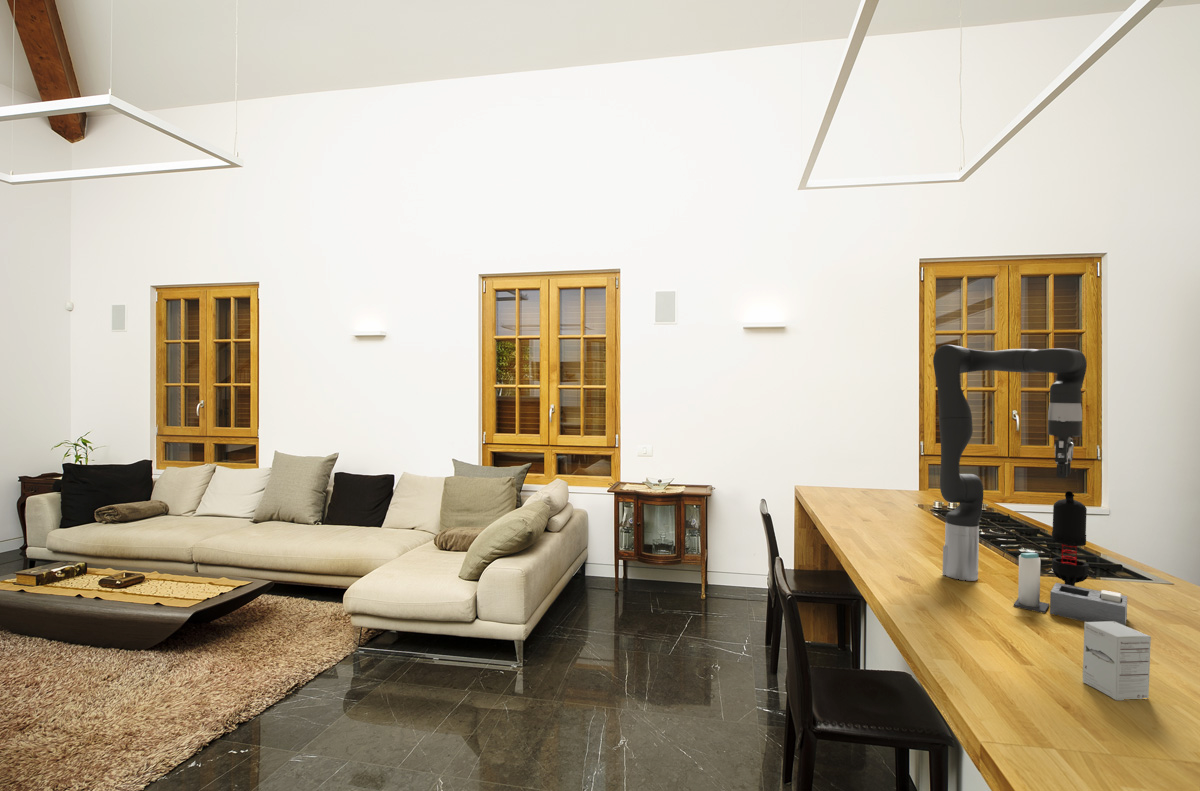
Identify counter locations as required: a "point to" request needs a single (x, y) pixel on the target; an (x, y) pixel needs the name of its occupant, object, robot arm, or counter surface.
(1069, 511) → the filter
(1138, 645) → the supplement box
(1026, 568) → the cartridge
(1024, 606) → the mat
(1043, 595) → the counter surface
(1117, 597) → the off-white cube
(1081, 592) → the housing
